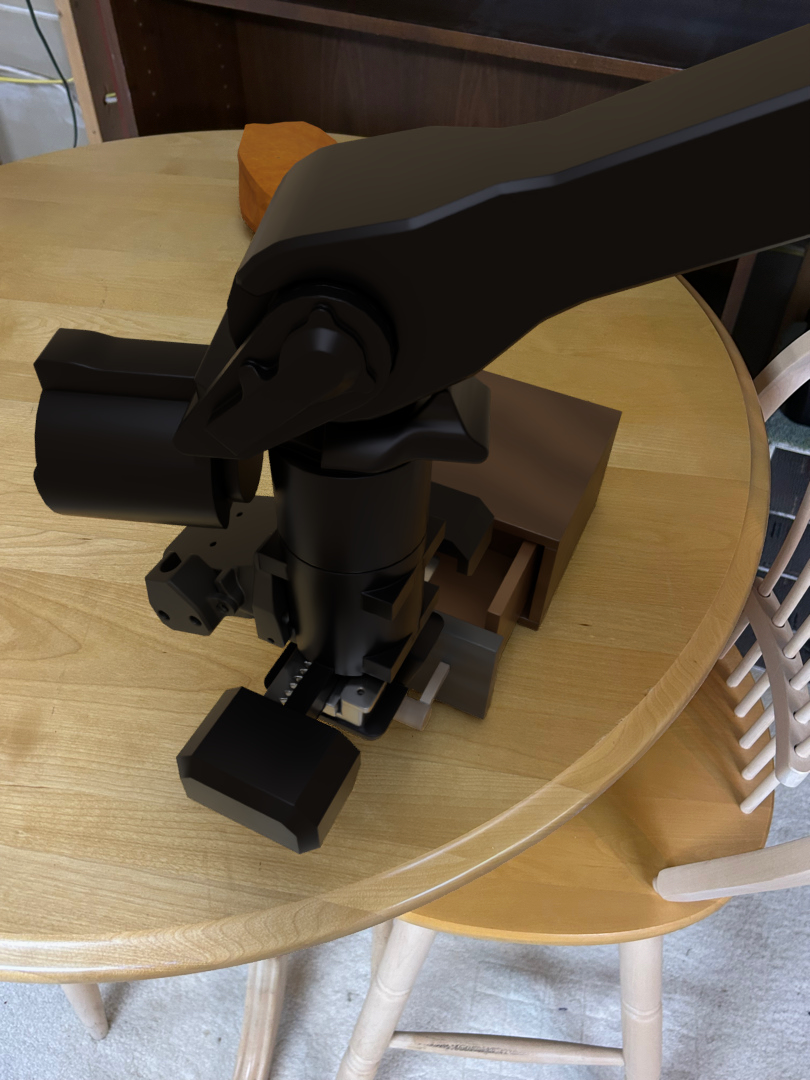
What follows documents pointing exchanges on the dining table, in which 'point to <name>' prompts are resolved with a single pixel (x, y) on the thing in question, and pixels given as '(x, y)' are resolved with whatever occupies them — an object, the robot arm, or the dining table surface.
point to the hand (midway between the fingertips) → (359, 728)
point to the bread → (271, 161)
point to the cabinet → (538, 473)
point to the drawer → (473, 628)
